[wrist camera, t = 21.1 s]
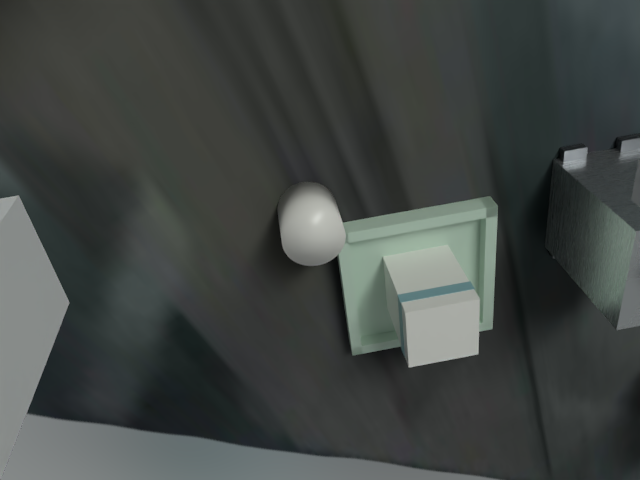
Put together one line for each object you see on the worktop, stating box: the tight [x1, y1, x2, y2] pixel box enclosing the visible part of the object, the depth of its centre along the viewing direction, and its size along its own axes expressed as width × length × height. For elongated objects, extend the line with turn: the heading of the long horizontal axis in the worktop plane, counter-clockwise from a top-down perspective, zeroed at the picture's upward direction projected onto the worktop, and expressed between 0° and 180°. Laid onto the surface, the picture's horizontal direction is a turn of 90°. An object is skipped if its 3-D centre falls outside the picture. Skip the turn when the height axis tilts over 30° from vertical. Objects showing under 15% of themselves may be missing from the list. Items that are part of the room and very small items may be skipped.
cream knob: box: [277, 182, 346, 266], centre depth 46 cm, size 5×5×5 cm
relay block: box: [383, 245, 480, 367], centre depth 50 cm, size 6×6×8 cm
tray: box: [337, 196, 498, 355], centre depth 53 cm, size 14×14×2 cm
